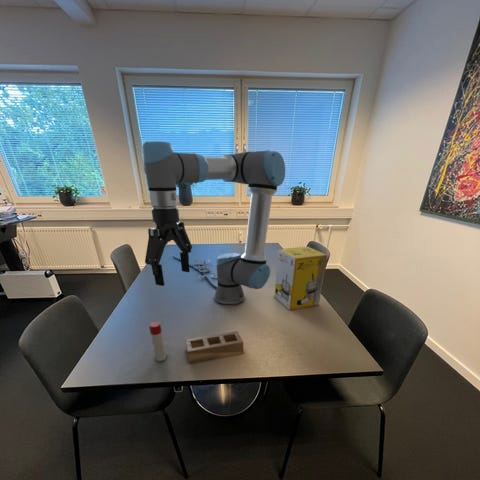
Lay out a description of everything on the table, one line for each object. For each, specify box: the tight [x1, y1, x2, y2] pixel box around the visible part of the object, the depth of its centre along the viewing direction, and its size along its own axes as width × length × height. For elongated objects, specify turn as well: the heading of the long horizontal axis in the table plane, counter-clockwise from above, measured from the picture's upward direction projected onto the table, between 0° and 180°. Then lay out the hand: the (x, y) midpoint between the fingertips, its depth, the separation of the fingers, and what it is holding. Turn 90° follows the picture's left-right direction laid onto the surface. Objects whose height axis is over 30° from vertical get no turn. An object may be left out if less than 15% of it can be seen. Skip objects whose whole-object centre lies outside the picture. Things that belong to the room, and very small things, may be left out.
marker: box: [148, 321, 167, 362], centre depth 88 cm, size 4×4×14 cm
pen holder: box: [184, 330, 244, 364], centre depth 93 cm, size 8×20×5 cm, turn 107°
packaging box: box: [274, 246, 328, 311], centre depth 126 cm, size 16×16×25 cm
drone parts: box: [194, 258, 217, 279], centre depth 171 cm, size 23×35×3 cm, turn 11°
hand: (173, 277), depth 84 cm, fingers open, 13 cm apart
